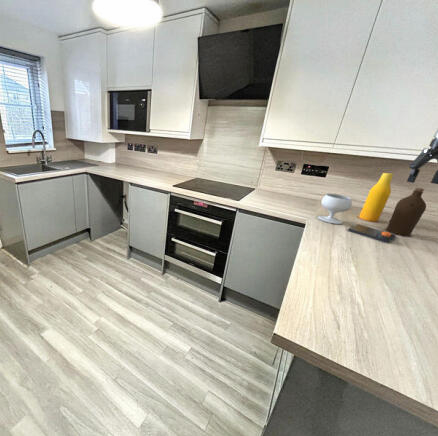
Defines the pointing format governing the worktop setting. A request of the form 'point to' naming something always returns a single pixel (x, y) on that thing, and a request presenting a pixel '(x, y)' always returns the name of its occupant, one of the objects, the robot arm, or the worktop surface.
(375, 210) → the beer bottle
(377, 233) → the scale
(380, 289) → the worktop surface
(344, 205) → the chalice
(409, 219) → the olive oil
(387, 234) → the tare button
